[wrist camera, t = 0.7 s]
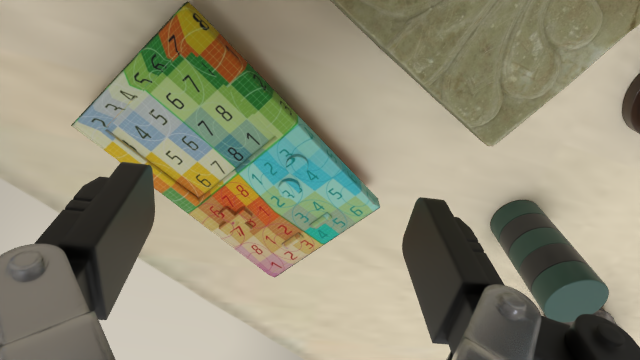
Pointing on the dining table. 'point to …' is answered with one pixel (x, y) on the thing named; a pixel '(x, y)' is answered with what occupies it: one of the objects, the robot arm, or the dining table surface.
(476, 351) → the robot arm
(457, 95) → the decorative tile
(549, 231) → the chip column
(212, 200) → the puzzle game
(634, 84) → the chip pile
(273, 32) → the dining table surface
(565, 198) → the dining table surface
